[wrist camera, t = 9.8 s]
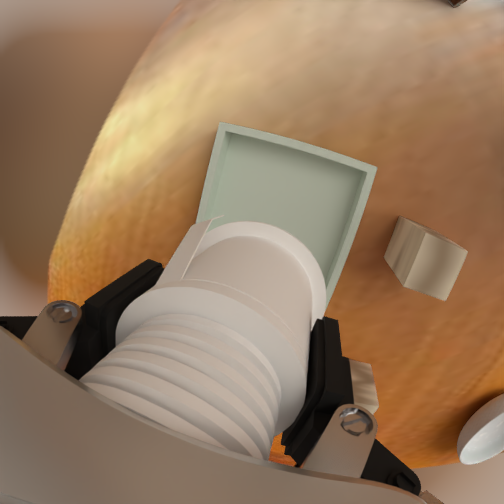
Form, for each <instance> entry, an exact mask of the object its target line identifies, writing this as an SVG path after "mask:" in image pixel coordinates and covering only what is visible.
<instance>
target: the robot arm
mask: <svg viewBox="0 0 504 504" xmlns="http://www.w3.org/2000/svg"><path fill="white" fill-rule="evenodd" d="M163 271H164V268H162V264H161V263H158V262H156V261H153V260H150V259H147V260H146V261H144V262H143V263H141V264H140V265H138V266H136V267H135V268H133V269H132V270H130V271H129V272H127V273H126V274H124V275H123V276H121V277H120V278H118V279H117V280H115V281H114V282H112V283H111V284H109V285H108V286H106V287H105V288H103V289H102V290H100V291H99V292H97V293H96V294H94V295H93V296H91V297H90V298H89V299H87V300H86V301H85V304H84V305H83V306H81V307H79V306H78V305H77V304H75V303H73V302H70V301H65V300H60V301H54V302H51V303H49V304H48V305H47V306H45V307H44V309H43V310H42V311H41V313H40V314H39V316H24V317H22V316H20V317H19V316H17V317H16V316H14V317H11V316H10V317H8V316H5V317H4V316H2V317H0V504H444V503H443V502H441V501H440V500H439V499H437V498H436V497H435V496H433V495H432V494H431V493H429V492H428V491H427V490H426V491H424V492H422V491H421V484H420V481H419V478H418V477H417V475H416V474H415V473H414V472H413V471H412V470H411V469H410V468H408V467H407V466H406V465H405V464H404V463H403V462H401V461H400V460H399V459H398V458H397V457H396V456H394V455H393V454H392V453H391V452H390V451H389V450H388V449H387V448H385V447H384V446H383V445H382V444H381V443H380V442H379V441H378V440H376V439H375V436H376V433H377V428H378V425H377V421H376V419H375V417H374V416H373V414H371V413H370V412H369V411H368V410H367V409H365V408H363V407H361V406H358V405H355V404H354V396H353V386H352V377H351V368H350V361H349V358H347V357H343V356H342V351H341V342H340V333H339V324H338V320H335V319H332V318H328V317H325V316H324V317H323V318H322V320H321V319H318V318H317V320H316V322H315V324H314V326H313V329H312V331H311V338H310V352H309V364H308V375H307V386H306V396H305V402H304V405H303V407H302V409H301V410H300V412H299V414H298V416H297V417H296V419H295V421H294V422H293V423H292V424H291V425H290V426H289V427H288V428H287V429H286V430H284V431H283V434H282V439H281V445H284V446H286V447H285V453H284V454H285V455H289V456H291V457H292V458H293V459H294V460H295V462H296V463H295V465H294V466H293V467H292V466H287V465H283V464H278V463H274V462H270V461H266V460H262V459H258V458H254V457H251V456H247V455H243V454H240V453H237V452H233V451H230V450H227V449H224V448H221V447H218V446H215V445H212V444H209V443H206V442H204V441H201V440H198V439H195V438H193V437H190V436H188V435H185V434H183V433H180V432H177V431H175V430H172V429H169V428H167V427H165V426H163V425H160V424H158V423H156V422H154V421H152V420H150V419H147V418H145V417H143V416H141V415H139V414H137V413H135V412H133V411H131V410H129V409H127V408H125V407H124V406H122V405H120V404H118V403H116V402H114V401H113V400H111V399H109V398H107V397H105V396H104V395H102V394H100V393H98V392H97V391H95V390H93V389H91V388H90V387H88V386H86V385H85V384H83V383H82V382H80V381H79V380H80V379H81V378H82V377H83V376H84V375H85V374H86V373H88V372H89V371H90V370H91V369H92V368H93V367H94V366H95V365H96V364H97V363H98V362H100V361H101V360H102V359H103V358H105V357H106V356H107V355H108V354H109V353H110V352H111V351H112V350H113V349H114V348H115V347H116V328H117V324H118V321H119V319H120V317H121V315H122V313H123V312H124V310H125V309H126V308H127V307H128V306H129V304H130V303H132V302H133V301H134V300H135V299H137V298H138V297H139V296H141V295H142V294H144V293H145V292H147V291H148V290H149V289H151V288H152V287H154V286H155V285H156V283H157V281H158V280H159V278H160V276H161V274H162V273H163Z"/></svg>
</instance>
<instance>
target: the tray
mask: <svg viewBox="0 0 504 504" xmlns="http://www.w3.org/2000/svg"><path fill="white" fill-rule="evenodd" d="M376 171H377V167H375V166H373V165H370V164H367V163H365V162H362V161H359V160H356V159H354V158H351V157H348V156H345V155H342V154H339V153H336V152H333V151H330V150H327V149H324V148H321V147H317V146H314V145H311V144H308V143H304V142H301V141H297V140H294V139H290V138H287V137H283V136H279V135H276V134H272V133H268V132H264V131H260V130H256V129H251V128H247V127H243V126H238V125H234V124H229V123H224V122H220V123H219V127H218V131H217V135H216V138H215V142H214V146H213V150H212V154H211V158H210V162H209V166H208V171H207V175H206V179H205V183H204V188H203V192H202V196H201V201H200V205H199V210H198V215H197V219H196V224H197V223H200V222H203V221H206V220H209V219H212V218H215V217H218V216H222V215H224V216H222V217H219V218H216V219H213V220H212V222H211V224H210V226H209V227H208V229H207V231H206V233H207V232H209V231H210V230H212V229H214V228H216V227H219V226H221V225H224V224H227V223H231V222H237V221H257V222H263V223H267V224H271V225H273V226H276V227H279V228H281V229H283V230H285V231H287V232H288V233H290V234H292V235H293V236H294V237H296V238H297V239H298V240H300V241H301V242H302V243H303V244H304V245H305V246H306V247H307V248H308V249H309V251H310V252H311V253H312V255H313V256H314V257H315V259H316V261H317V262H318V264H319V266H320V269H321V271H322V274H323V277H324V281H325V286H326V307H325V310H326V308H327V306H328V303H329V301H330V299H331V296H332V294H333V292H334V289H335V287H336V284H337V282H338V279H339V277H340V274H341V272H342V269H343V267H344V264H345V262H346V259H347V256H348V254H349V251H350V248H351V246H352V243H353V240H354V237H355V235H356V232H357V229H358V226H359V223H360V220H361V218H362V215H363V212H364V209H365V206H366V203H367V200H368V197H369V193H370V190H371V187H372V184H373V181H374V177H375V174H376ZM206 233H205V234H206Z"/></svg>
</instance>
